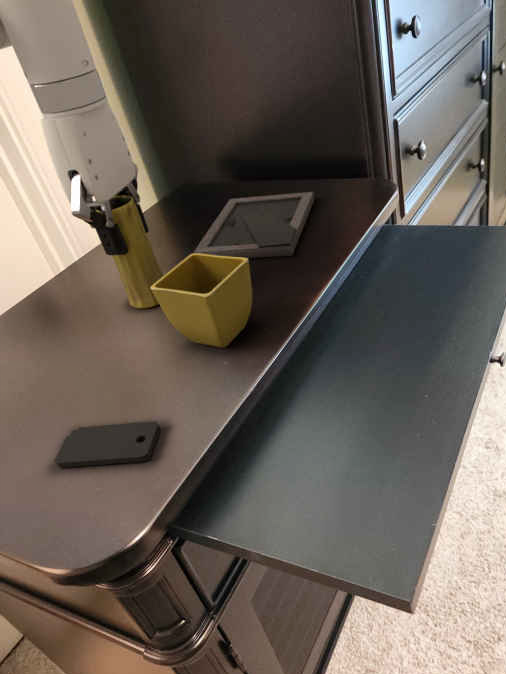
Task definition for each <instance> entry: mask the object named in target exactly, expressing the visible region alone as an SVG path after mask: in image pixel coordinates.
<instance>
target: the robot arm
mask: <svg viewBox="0 0 506 674" xmlns="http://www.w3.org/2000/svg"><path fill="white" fill-rule="evenodd" d="M10 47H12V49H13V51H14V53H15V56H16V58H17V60H18V62H19V65H20V67H21V70H22V71H23V74H24V76H25V79H26V81H27V84H28V85H29V88H30V90H31V92H32V95H33V97H34V99H35V102H36V104H37V106H38V108H39V110H40V113H41V116H42V119H40V123H41V127H42V131H43V135H44V139H45V143H46V146H47V150H48V153H49V155H50V158H51V161H52V165H53V167H54V169H55V172H56V175H57V177H58V180H59V182H60V185H61V187H62V190H63V192H64V194H65V197H66V199H67V200H68V202H69V204H70V205H71V206H70V212H71V215H72V216H73V217H75V218H77V219H79V220H81V221H83V222H84V223H86V224H88V225H89V227H90V228H92V229H94V230H95V232H96V233H97V236H98V239H99V240H100V243H101V246H102V248H103V251H104V253H105V254H106V255H107V256H113V255H126V254H127V253H128V248H127V245H126V243H125V240H124V238H123V235H122V233H121V230H120V228H119V225H118V224H114V221H113V216H112V211H111V206H110V201H109V200H110V199H112V198H113V197H115V196H121V195H128V196H131V197H133V200H134V202H135V204H136V207H137V209H138V212H139V215H140V218H141V220H142V223H143V226H144V229H145V232H146V234H147V233H149V232H150V231H149V230H150V229H149V225H148V224H147V220H146V218H145V215H144V213H143V209H142V207H141V204H140V202H141V197H140V195H139V193H138V187H139V186H138V185H139V183H138V172H139V167H138V165H137V164H136V163H135V162H134V161H133V157H132V154H131V152H130V149H129V146H128V144H127V141H126V138H125V136H124V134H123V131H122V129H121V126H120V124H119V122H118V119H117V117H116V115H115V113H114V111H113V109H112V107H111V105H110V103H109V100H108V98H107V94H106V91H105V88H104V87H103V84H102V80H101V78H100V74H99V72H98V69H97V66H96V64H95V61H94V58H93V55H92V52H91V50H90V46H89V43H88V41H87V39H86V35H85V33H84V30H83V26H82V24H81V21H80V18H79V16H78V12H77V10H76V6H75V4H74V1H73V0H0V50H4V49H8V48H10ZM93 197H94V198H93ZM94 199H95V200H94ZM97 206H101V208H102V213H103V215H102V214H100V213H98V212H97V211H96V208H95V207H97Z"/></svg>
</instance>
